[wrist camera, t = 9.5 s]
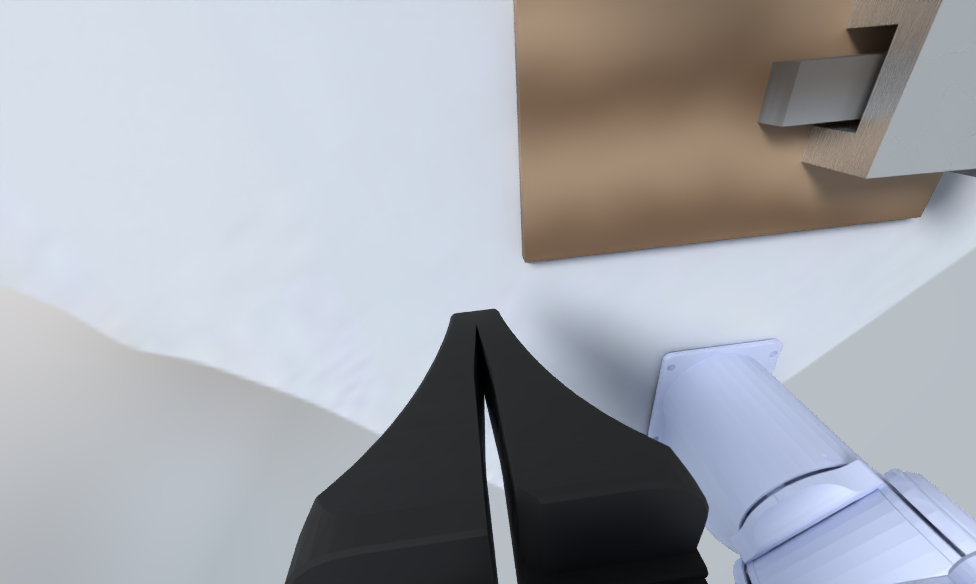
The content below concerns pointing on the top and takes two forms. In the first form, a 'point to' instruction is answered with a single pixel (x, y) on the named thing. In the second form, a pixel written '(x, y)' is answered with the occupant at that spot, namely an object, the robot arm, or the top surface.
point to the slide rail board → (691, 122)
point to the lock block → (911, 95)
